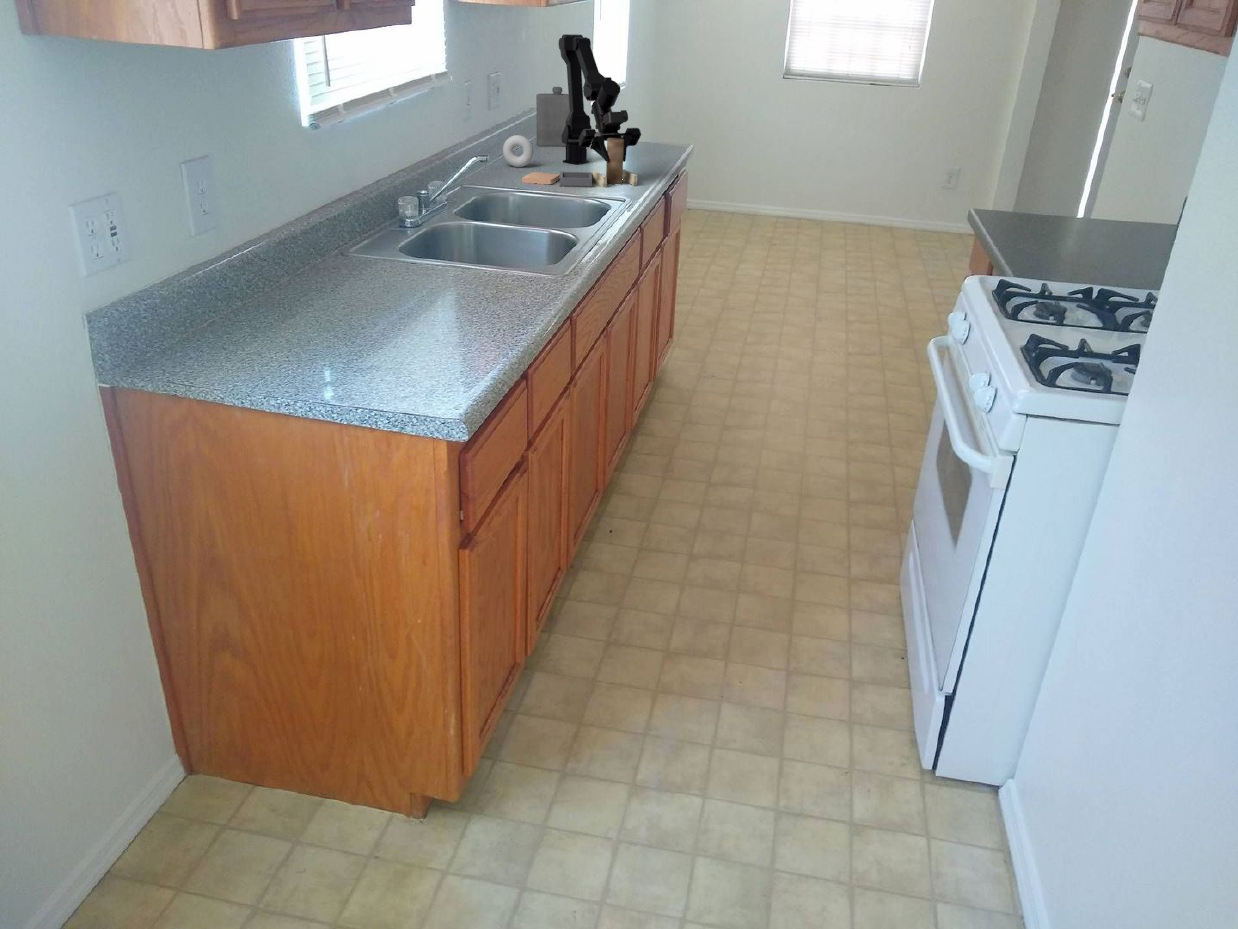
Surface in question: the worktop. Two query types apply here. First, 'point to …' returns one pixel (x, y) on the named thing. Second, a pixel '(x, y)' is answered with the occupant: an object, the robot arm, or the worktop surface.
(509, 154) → the donut
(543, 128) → the flask
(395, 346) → the worktop surface
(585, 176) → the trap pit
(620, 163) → the walnut post
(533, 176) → the pad
